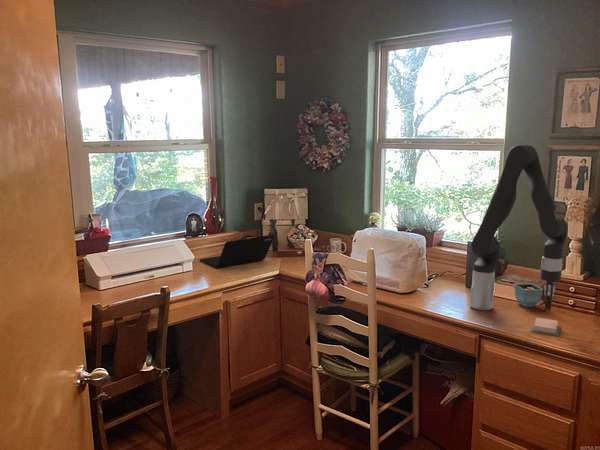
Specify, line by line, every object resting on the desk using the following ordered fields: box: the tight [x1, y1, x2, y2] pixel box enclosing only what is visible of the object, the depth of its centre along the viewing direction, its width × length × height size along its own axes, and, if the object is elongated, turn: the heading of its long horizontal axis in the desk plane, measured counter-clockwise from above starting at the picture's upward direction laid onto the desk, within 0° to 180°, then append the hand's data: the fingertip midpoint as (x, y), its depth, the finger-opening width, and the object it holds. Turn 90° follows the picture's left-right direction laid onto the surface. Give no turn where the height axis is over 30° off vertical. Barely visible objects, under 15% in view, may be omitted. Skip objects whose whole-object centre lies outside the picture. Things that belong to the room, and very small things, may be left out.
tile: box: [534, 317, 558, 334], centre depth 203 cm, size 8×2×10 cm
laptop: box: [199, 234, 276, 269], centre depth 307 cm, size 33×38×19 cm
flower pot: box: [514, 283, 544, 308], centre depth 230 cm, size 9×9×9 cm
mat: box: [530, 321, 561, 337], centre depth 203 cm, size 10×10×1 cm
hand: (547, 309), depth 206 cm, fingers closed
